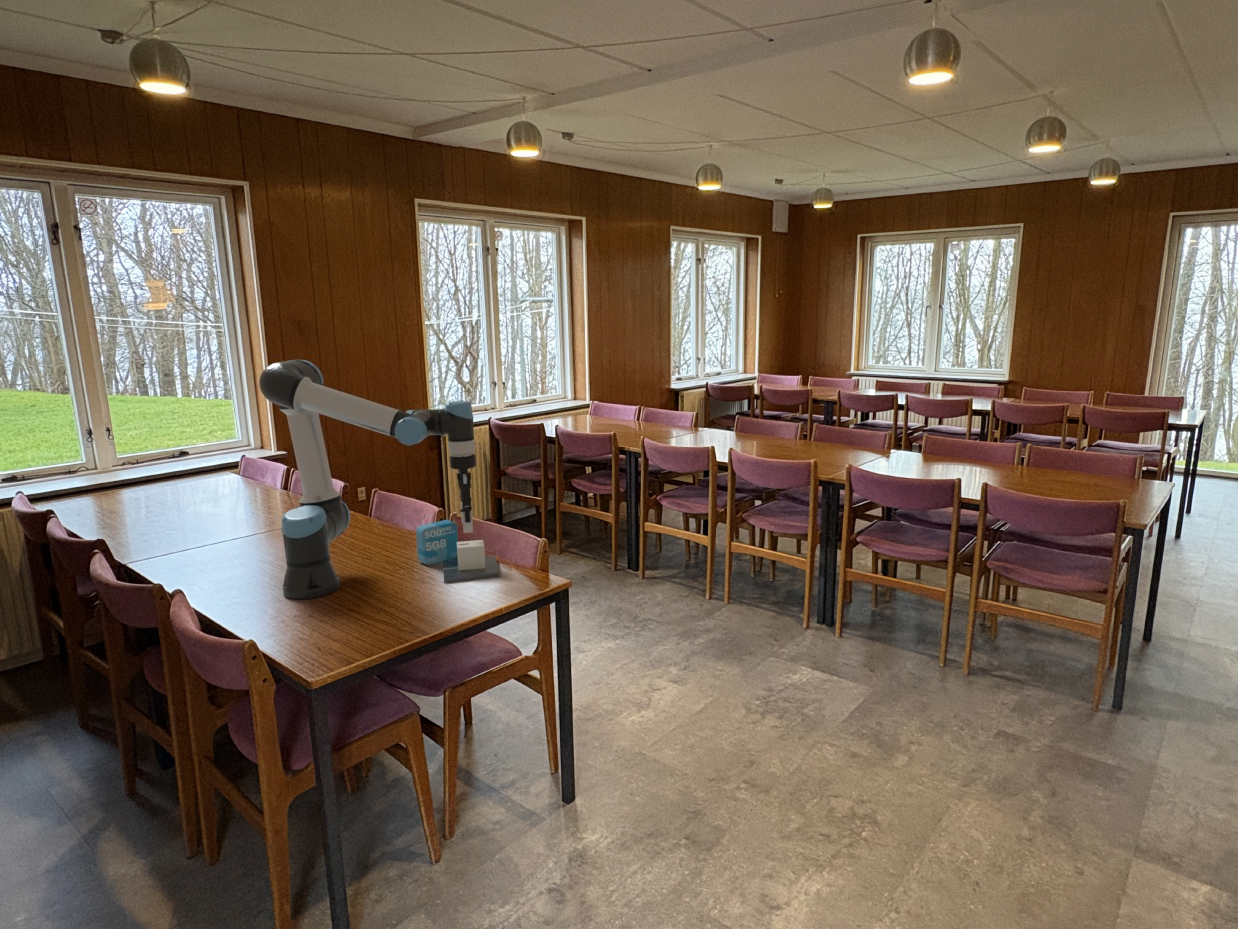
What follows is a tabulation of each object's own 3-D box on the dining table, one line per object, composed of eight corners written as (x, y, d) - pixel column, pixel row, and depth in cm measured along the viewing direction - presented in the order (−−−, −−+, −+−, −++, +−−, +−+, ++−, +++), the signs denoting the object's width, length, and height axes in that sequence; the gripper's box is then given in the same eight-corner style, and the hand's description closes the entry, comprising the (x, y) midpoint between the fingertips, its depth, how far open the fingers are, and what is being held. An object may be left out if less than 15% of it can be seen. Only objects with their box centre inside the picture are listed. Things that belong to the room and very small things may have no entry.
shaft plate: (499, 576, 228) (498, 559, 227) (443, 583, 224) (442, 564, 223) (495, 560, 243) (493, 543, 242) (442, 565, 239) (440, 548, 238)
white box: (485, 568, 231) (484, 545, 230) (458, 570, 229) (457, 547, 228) (483, 561, 237) (482, 539, 236) (457, 564, 235) (456, 541, 234)
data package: (424, 566, 239) (421, 529, 237) (418, 563, 243) (415, 526, 240) (459, 557, 247) (456, 521, 244) (452, 554, 250) (450, 518, 248)
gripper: (477, 460, 217) (482, 536, 221) (473, 446, 238) (477, 517, 242) (450, 462, 215) (456, 539, 219) (448, 448, 236) (453, 519, 241)
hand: (467, 527), depth 231 cm, fingers open, 10 cm apart
